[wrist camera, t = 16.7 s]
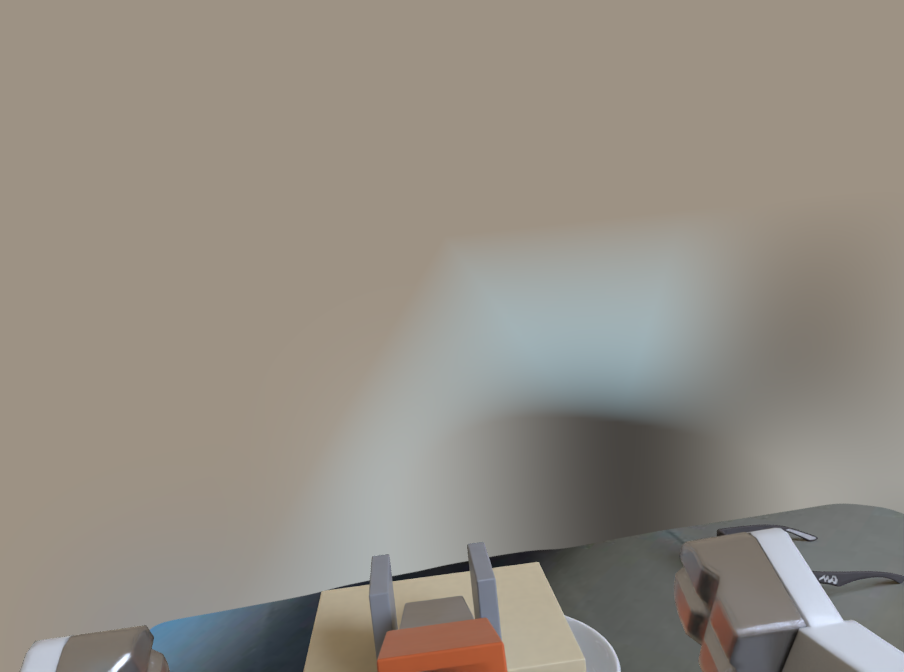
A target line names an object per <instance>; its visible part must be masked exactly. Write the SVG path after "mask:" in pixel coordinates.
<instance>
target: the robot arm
mask: <svg viewBox="0 0 904 672" xmlns="http://www.w3.org/2000/svg"><path fill="white" fill-rule="evenodd" d="M680 559H681V561H682V563H683V565H684V567H683V568H682V569H681V570H680V571H678V572H677V573H676V575H675V582H674V595H675V603H676V607H677V611H678V614H679V617H680V620H681V623H682V625H683V627H684V630H685V632H686V634H687V635H688V636H690V637H691V638H692V639H693V640H695V641H696V642H697V643H699V644H700V645H701V646H702V647H701V651H700V655H699V659H698V662H699V665H700V667H701V669H702V671H703V672H904V653H903V652H901V651H900V650H898V649H897V648H895V647H894V646H892V645H891V644H889V643H888V642H886V641H885V640H883V639H882V638H880V637H879V636H877V635H876V634H874V633H873V632H871V631H869V630H868V629H866V628H865V627H863V626H862V625H860V624H859V623H857V622H856V621H854V620H847V621H843V619H842V617H841V616H840V614H839V613H838V611H837V610H836V608H835V607H834V605H833V603H832V602H831V600H830V599H829V597H828V596H827V594H826V593H825V591H824V589H823V588H822V586H821V585H820V583H819V582H818V580H817V578H816V577H815V575H814V574H813V572H812V571H811V569H810V568H809V566H808V564H807V563H806V561H805V560H804V558H803V557H802V555H801V554H800V552H799V550H798V549H797V547H796V546H795V544H794V543H793V541H792V540H791V538H790V536H789V535H788V533H786V532H785V531H784V530H782V529H781V528H770V529H764V530H758V531H752V532H747V533H746V532H741V533H735V534H729V535H723V536H717V537H711V538H706V539H700V540H694V541H688V542H685V543H684V544H683V545H682V547H681V552H680ZM153 639H154V637H153V635H152V634H151V632H150V630H149V629H148V627H147V626H146V625H144V626H137V627H130V628H123V629H116V630H110V631H103V632H95V633H88V634H81V635H71V636H64V637H58V638H52V639H45V640H39V641H35V642H34V643H33V645H32V646H31V648H30V649H29V650H28V652H27V653H26V655H25V657H24V660H23V663H22V666H21V669H20V671H19V672H170V671H169V667H168V663H167V661H166V659H165V657H164V655H163V654H162V653H159V652H157V651H155V650H153V649H152V644H153Z"/></svg>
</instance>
